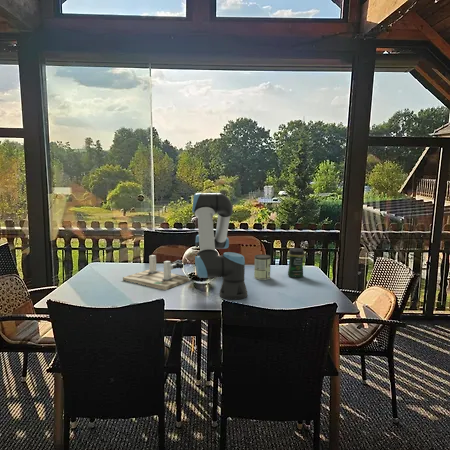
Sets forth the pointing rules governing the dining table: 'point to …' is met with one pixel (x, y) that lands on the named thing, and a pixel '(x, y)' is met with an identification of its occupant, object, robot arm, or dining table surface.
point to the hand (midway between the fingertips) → (168, 268)
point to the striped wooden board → (156, 279)
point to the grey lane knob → (152, 264)
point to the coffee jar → (296, 262)
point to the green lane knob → (167, 271)
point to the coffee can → (262, 267)
